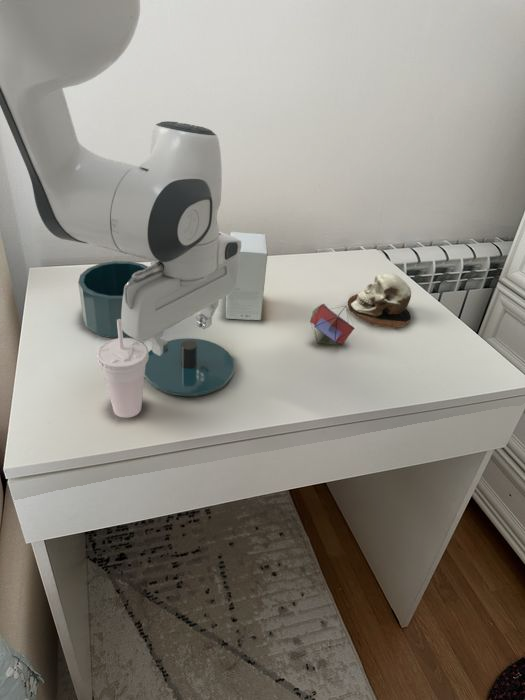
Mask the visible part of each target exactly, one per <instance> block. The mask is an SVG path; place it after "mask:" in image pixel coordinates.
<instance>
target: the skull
mask: <svg viewBox="0 0 525 700" xmlns="http://www.w3.org/2000/svg"><path fill="white" fill-rule="evenodd" d="M411 298H412V290H411V286H410V285H409V284H408V282H406V281H405V280H404V279H403V278H402V277H401V276H399V275H397V274H395V273H393V272H391V273H390V272H386V273H381V274H378V275H375V277H374V282H371V283H368V284H367V285H366V287H365V288H364V290H362V291H360V292H359V293H356V294H354V295H352V296H350V297H349V298H348V300H347V309H348V310H349V311H350V313H352V314H353V315H354V316H356V317H357V318H358V319H360V320H362V321H364V322H366V323H369V324H370V325H371V326H377V327H382V328H390V329H391V328H396V329H397V328H401V327H404V326H407V325H408V324H409V323H411V320H412V315H411V312H410V311H409V310H408V309H407V307H408V306H409V304H410V302H411Z"/></svg>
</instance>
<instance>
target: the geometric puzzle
mask: <svg viewBox="0 0 525 700" xmlns="http://www.w3.org/2000/svg"><path fill="white" fill-rule="evenodd" d="M337 306H338V307H337ZM337 306H336V309H338V308H339V307H341V308H342V307H343V309H342V310H341V311H340V312H339V314H337V313H335V312H334V311H333V310H332V309H334V307H332V308H329V307H328V305H327V304H325V303H320V305H317V306H316V308H314V309H313V310H312V311H311V316H310V320H309V322H310V325H311V326H313V327H311V328H312V330H313V335H314V337H315V339H318V337H317V336H316V334H317V333H316V331H315V330H318V332H320V333H322V334H323V335H322V337H321V338H320V340H319V341H316V343H317V345H323V342H321V341H322V340H323V339H324V338H325V336H326V337H327V338H328V339H330V340H331V341H332V342H333V343H336V344H332V343H331V341H329V342H326V344H329V343H330V344H331V345H333V346H334V345H337V346H338V345H339V346H343V344H344V343H345V342H346V340H347V339H348V338H349V337H350V336H351V334H352V332H353V331H354V330H356V328H355V327H354V326H353V324H354V323H353V320H352V319H350V321H351V323H352V324H350V323H349V321H347V320H346V319H343V318H342V317H341V314H342V312H343V311H344V309H346V311H347V314H348V315H346V316H347V319H349V317H351V316H350V315H351V314H350V313H349V311H348V308H347V305H340V304H339V305H338V304H337ZM314 329H315V330H314Z"/></svg>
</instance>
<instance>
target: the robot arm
mask: <svg viewBox="0 0 525 700" xmlns="http://www.w3.org/2000/svg"><path fill="white" fill-rule="evenodd" d="M140 15H141V0H0V109H1V111H2V113H3V115H4V116H3V117H4V118H5V120H6V123H7V126H8V127H9V129H10V130H9V131H10V132H11V134H12V136H13V139H14V142H15V144H16V146H17V148H18V151H19V153H20V155H21V158H22V160H23V163H24V166H25V167H26V170H27V172H28V175H29V179H30V182H31V186H32V192H33V197H34V202H35V206H36V210H37V213H38V215H39V217H40V219H41V221H42V223H43V224H44V226H45V228H46V229H47V230H48V231H49V232H50V234H52V235H53V236H55V237H56V238H58V239H60V240H65V241H70V242H71V241H72V242H75V243H81V244H90V245H93V246H97V247H101V248H104V249H107V250H110V251H111V250H112V251H115V252H118V253H120V254H121V253H122V254H126V255H131V256H134V257H138V258H142V259H145V260H149V261H150V265H149V266H148V267H147V268H146V269H144V270H142V271H141V270H140V271H137V272H135V273H134V274H133V275H132V278H131V279H130V280H129V281H128V283H127V284H126V285H125V286H124V294H123V300H122V311H121V320H122V330H123V331H124V332H125V333H126V334H127V335H129V336H130V337H129V338H132V339H136V340H138V341H140V342H143V343H145V342H146V341H148V340H149V341H150V343H151V350H152V351H153V353H155V354H157V355H158V356H161V355H162V354H164V353H165V352H167V351H168V348H167V347H168V342H167V340H163V338H162V337H163V335H164V331H166V330H169V329H170V328H172V327H174V326H175V325H178V324H179V323H181V322H182V321H185V320H186V319H189V318H190V317H192V316H193V315H195V314H197V313H198V312H200V313H199V314H198V315H196V325H197V327H199V328H201V329H202V330H206V329H208V328H209V327H211V326H212V324H213V316H214V315H215V312H216V310H217V308H218V306H219V301H220V300H222V299H224V298H226V296H227V295H229V294H231V293H233V291H234V289H235V288H236V286H237V282H238V274H239V256H238V254H239V253H240V251H241V241H240V240H239V239H237V238H235V237H232V236H230V234H228V233H226V232H222V231H220V227H219V223H218V211H219V209H220V206H221V202H222V189H223V188H222V184H223V172H222V171H223V170H222V169H223V167H222V152H221V146H220V140H219V137H218V135H217V134H216V133H215V132H213V130H211V129H209V128H207V127H204V126H199V125H195V124H190V123H182V122H178V121H169V120H168V121H160V122H157V123H156V124H155V125H154V126H153V130H152V134H151V142H150V150H149V151H150V153H149V156H148V157H147V158H146V159H145V160H144V161H143V162H141V164H139V165H135V164H132V163H131V164H130V163H127V162H122V161H119V160H114V159H110V158H106V157H103V156H101V155H99V154H96V153H94V152H92V151H90V150H89V149H87V148H86V147H85V146H84V145H82V143H80V141H79V138H78V136H77V133H76V129H75V126H74V122H73V120H72V116H71V112H70V109H69V106H68V102H67V98H66V96H65V92H64V89H65V88H70V87H75V86H79V85H81V84H85V83H87V82H89V81H91V80H93V79H94V78H96V77H98V76H100V75H101V74H102V73H104V72H105V71H106V70H108V69H109V68H110V67H112V66H113V65H114V64H115V63H116V62H117V61H118V60H119V59H120V58H121V57H122V56H123V54H124V53H125V52H126V51H127V49H128V47H129V46H130V44H131V42H132V40H133V38H134V36H135V33H136V30H137V27H138V24H139V20H140Z"/></svg>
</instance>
